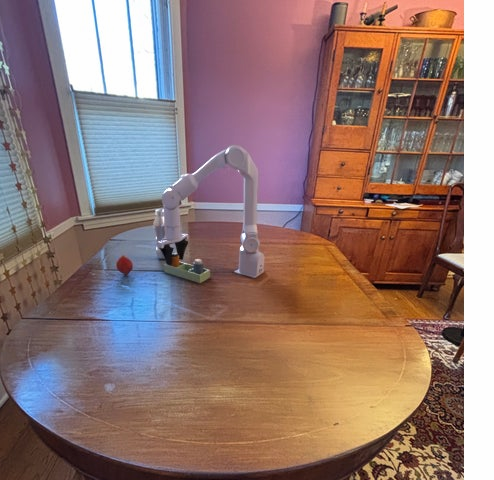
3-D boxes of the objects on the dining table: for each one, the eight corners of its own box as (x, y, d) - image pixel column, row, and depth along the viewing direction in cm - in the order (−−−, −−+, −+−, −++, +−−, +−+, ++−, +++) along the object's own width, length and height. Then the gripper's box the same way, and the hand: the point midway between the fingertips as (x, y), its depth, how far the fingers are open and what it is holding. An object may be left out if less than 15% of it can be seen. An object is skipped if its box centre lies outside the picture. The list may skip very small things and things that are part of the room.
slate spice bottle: (205, 277, 111) (205, 259, 107) (199, 280, 108) (198, 262, 105) (197, 275, 113) (197, 257, 109) (191, 278, 110) (190, 260, 106)
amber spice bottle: (181, 270, 116) (181, 253, 112) (175, 273, 113) (174, 255, 110) (174, 268, 118) (173, 251, 114) (168, 271, 115) (167, 253, 111)
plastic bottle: (173, 255, 132) (170, 208, 121) (169, 261, 126) (165, 212, 115) (159, 255, 132) (154, 208, 121) (154, 260, 126) (149, 211, 116)
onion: (114, 275, 112) (111, 255, 107) (125, 270, 116) (122, 250, 112) (126, 279, 109) (123, 258, 105) (137, 273, 114) (134, 253, 110)
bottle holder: (210, 278, 112) (210, 269, 110) (200, 284, 107) (199, 275, 105) (174, 268, 119) (174, 259, 118) (164, 273, 115) (163, 264, 113)
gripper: (177, 220, 113) (179, 254, 121) (149, 227, 103) (153, 264, 110) (192, 223, 110) (193, 258, 117) (164, 231, 100) (167, 269, 107)
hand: (175, 261), depth 114 cm, fingers open, 6 cm apart
